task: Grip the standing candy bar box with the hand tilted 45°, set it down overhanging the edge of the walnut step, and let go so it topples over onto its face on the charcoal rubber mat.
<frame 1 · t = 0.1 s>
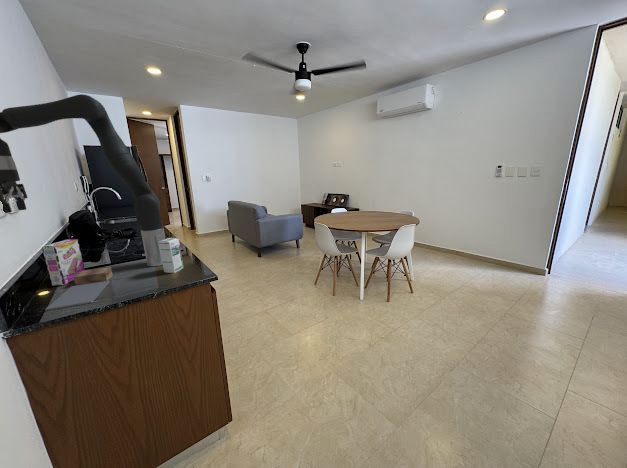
hand: (15, 211, 99), 29 cm above the countertop, tool pointing down, fingers open, 8 cm apart
candy bar box: (70, 280, 105), on the countertop
syrup box: (174, 270, 114), on the countertop
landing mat: (81, 294, 92), on the countertop
walnut step: (95, 280, 104), on the countertop
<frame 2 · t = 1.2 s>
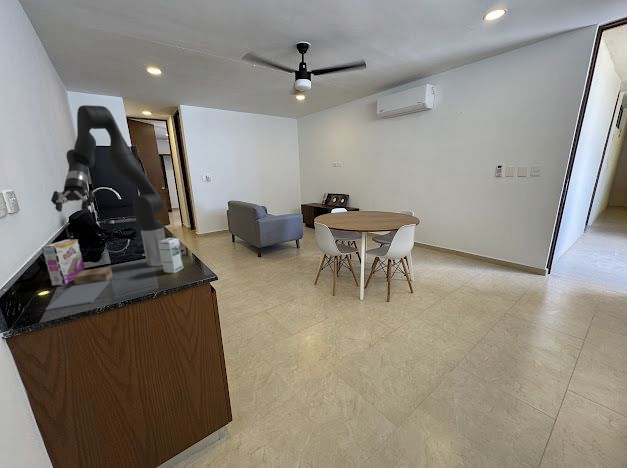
hand: (71, 210, 112), 27 cm above the countertop, tool tilted 45°, fingers open, 8 cm apart
nothing on the countertop moved.
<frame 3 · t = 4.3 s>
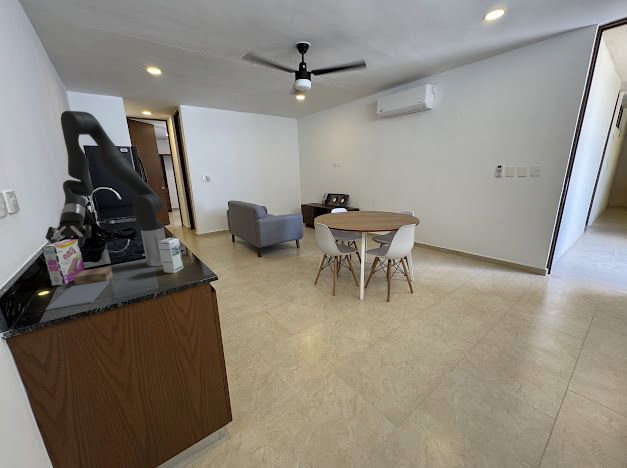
hand: (67, 247, 106), 13 cm above the countertop, tool tilted 45°, fingers open, 8 cm apart
candy bar box: (70, 280, 105), on the countertop, touching gripper
everything else where it was.
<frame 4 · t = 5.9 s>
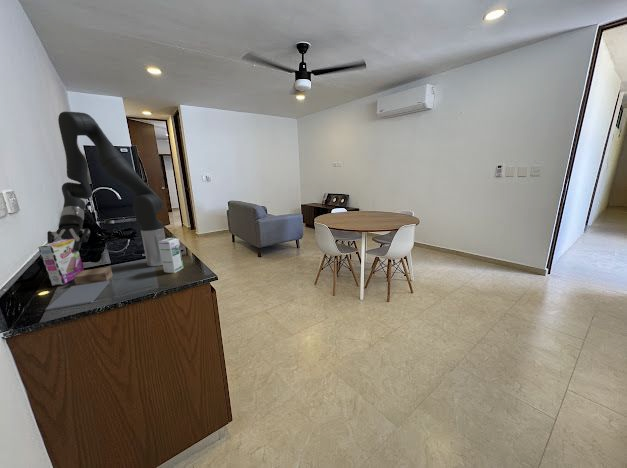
hand: (66, 251, 104), 12 cm above the countertop, tool tilted 45°, fingers closed on candy bar box, 6 cm apart
candy bar box: (70, 280, 105), on the countertop, touching gripper
everything else where it was.
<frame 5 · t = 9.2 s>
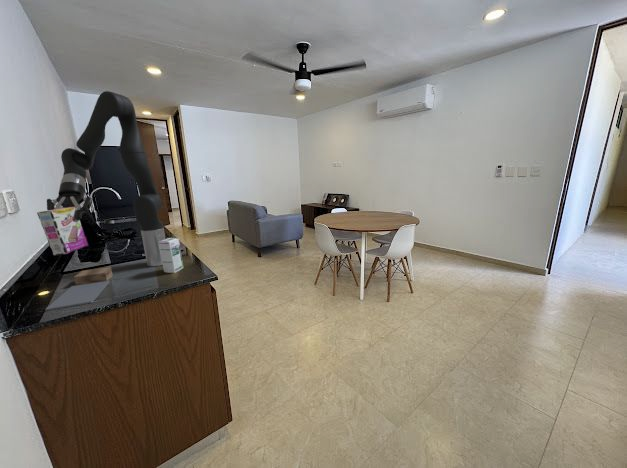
hand: (66, 220, 97), 26 cm above the countertop, tool tilted 45°, fingers closed on candy bar box, 5 cm apart
candy bar box: (73, 250, 98), point 14 cm above the countertop, touching gripper
everything else where it was.
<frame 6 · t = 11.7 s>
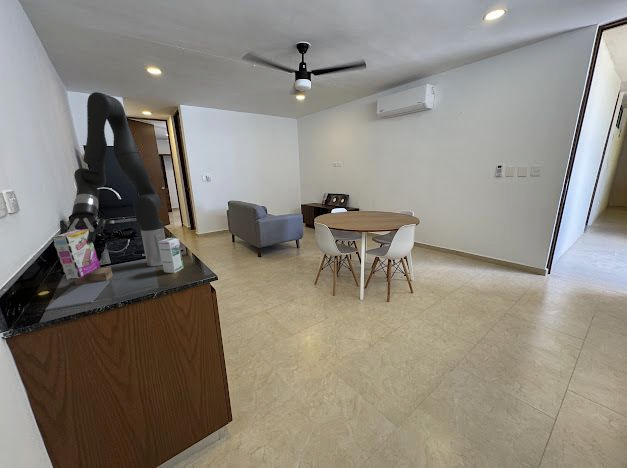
hand: (80, 242, 96), 17 cm above the countertop, tool tilted 45°, fingers closed on candy bar box, 5 cm apart
candy bar box: (85, 273, 97), point 6 cm above the countertop, touching gripper
everything else where it was.
when the fingers open (17 cm above the countertop, at t = 12.8 s): candy bar box moves 5 cm, resting on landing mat.
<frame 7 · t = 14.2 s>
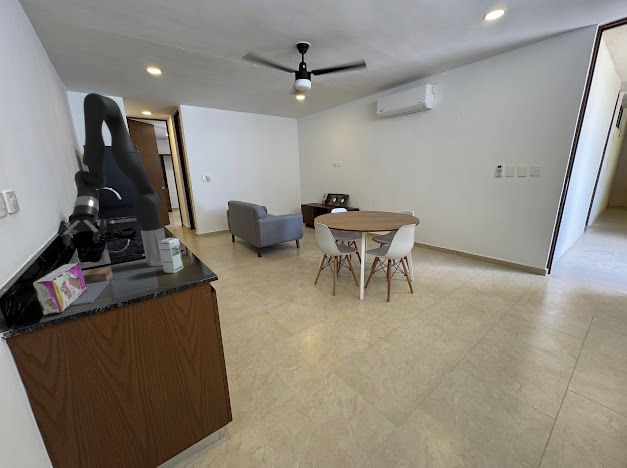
hand: (80, 243, 96), 17 cm above the countertop, tool tilted 45°, fingers open, 8 cm apart
candy bar box: (76, 276, 93), point 6 cm above the countertop, touching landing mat
everything else where it was.
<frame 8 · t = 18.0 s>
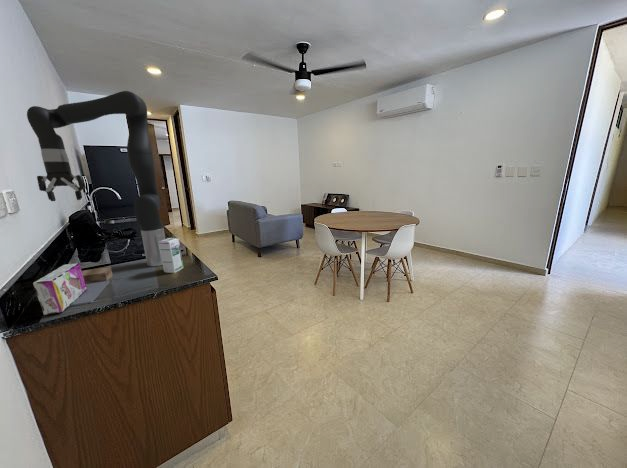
hand: (66, 200, 108), 32 cm above the countertop, tool pointing down, fingers open, 8 cm apart
nothing on the countertop moved.
at the end: candy bar box tilted 91°; candy bar box touching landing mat; candy bar box inside the target area (4.4 cm from its centre), point 6.2 cm above the countertop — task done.
